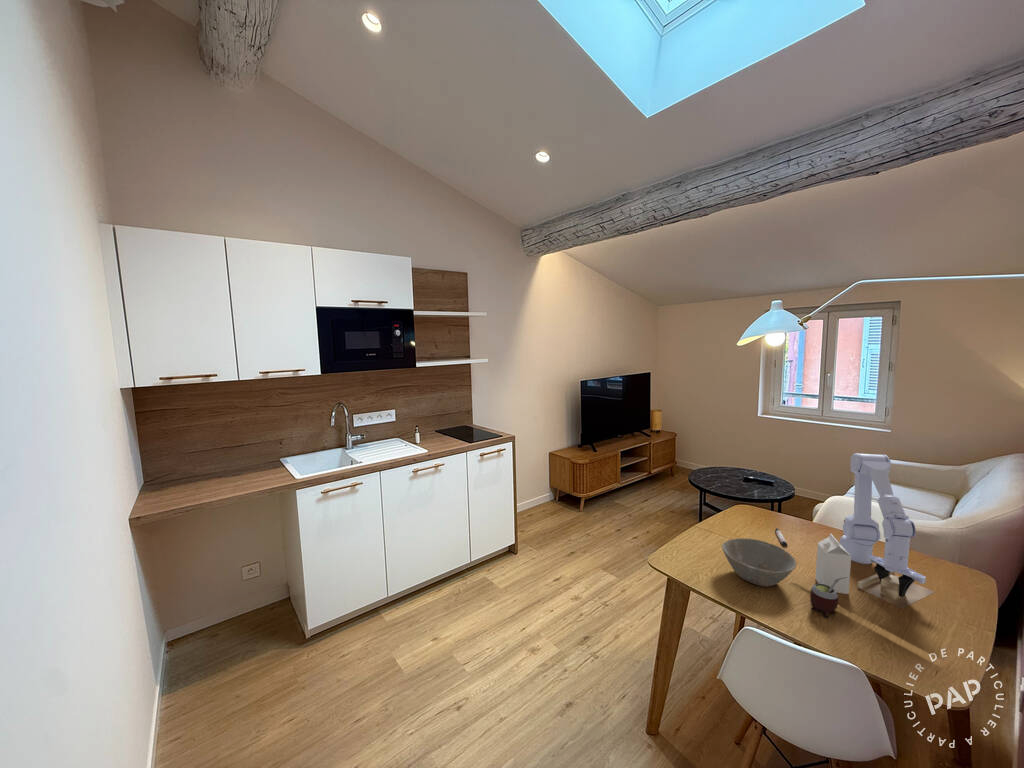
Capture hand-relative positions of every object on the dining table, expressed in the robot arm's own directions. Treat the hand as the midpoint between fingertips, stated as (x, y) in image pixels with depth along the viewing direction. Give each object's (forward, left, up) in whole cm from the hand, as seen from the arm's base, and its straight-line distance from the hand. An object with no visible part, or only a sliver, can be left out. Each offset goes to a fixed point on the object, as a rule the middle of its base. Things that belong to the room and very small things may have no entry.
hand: (893, 591), depth 133 cm
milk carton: (-11, -13, -3) cm, 17 cm away
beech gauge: (0, 0, -1) cm, 1 cm away
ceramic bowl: (-26, -30, -3) cm, 40 cm away
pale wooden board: (-1, +4, -2) cm, 5 cm away
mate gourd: (-5, -27, -3) cm, 28 cm away
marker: (-42, +7, -3) cm, 43 cm away
